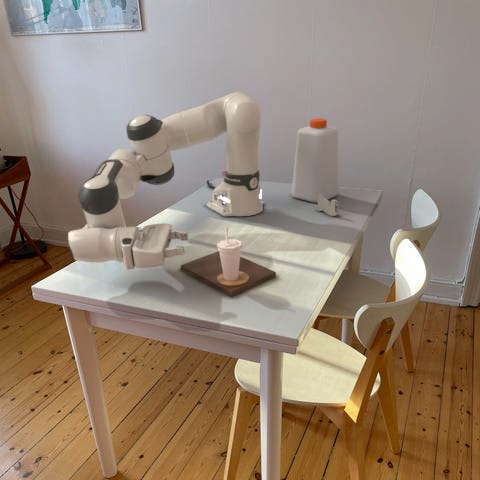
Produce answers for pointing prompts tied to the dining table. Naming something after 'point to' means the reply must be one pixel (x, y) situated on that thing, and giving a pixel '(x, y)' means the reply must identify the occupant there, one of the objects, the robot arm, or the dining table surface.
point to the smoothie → (230, 257)
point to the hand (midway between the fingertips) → (185, 243)
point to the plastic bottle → (316, 162)
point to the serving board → (212, 274)
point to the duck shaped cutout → (328, 206)
